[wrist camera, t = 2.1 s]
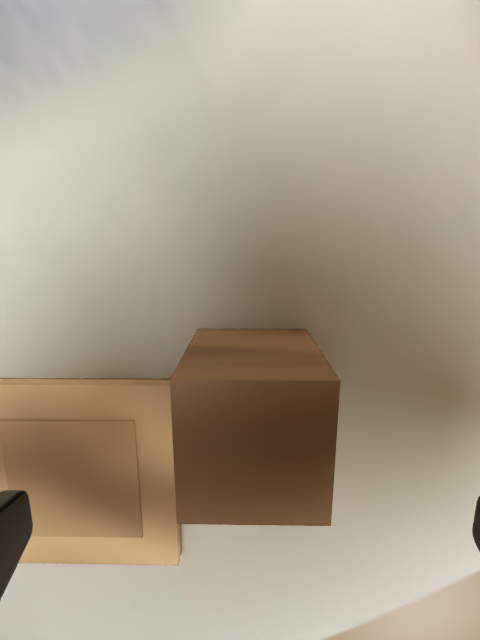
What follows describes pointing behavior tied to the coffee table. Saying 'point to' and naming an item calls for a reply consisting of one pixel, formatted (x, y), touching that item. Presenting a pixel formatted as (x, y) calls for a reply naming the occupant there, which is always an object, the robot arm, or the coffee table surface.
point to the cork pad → (92, 468)
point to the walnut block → (254, 429)
